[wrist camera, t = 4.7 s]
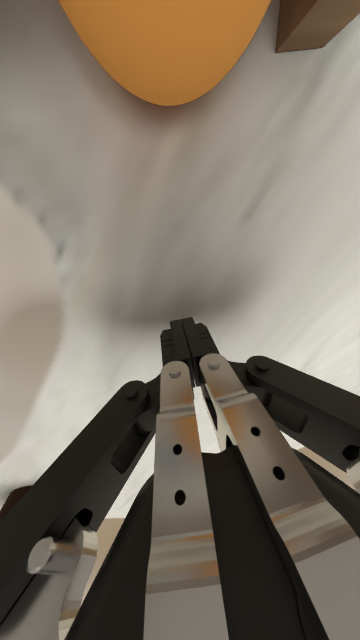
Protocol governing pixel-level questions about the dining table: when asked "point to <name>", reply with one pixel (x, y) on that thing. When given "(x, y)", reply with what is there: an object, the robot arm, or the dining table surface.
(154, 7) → the ball
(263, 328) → the dining table surface
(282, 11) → the bridge
